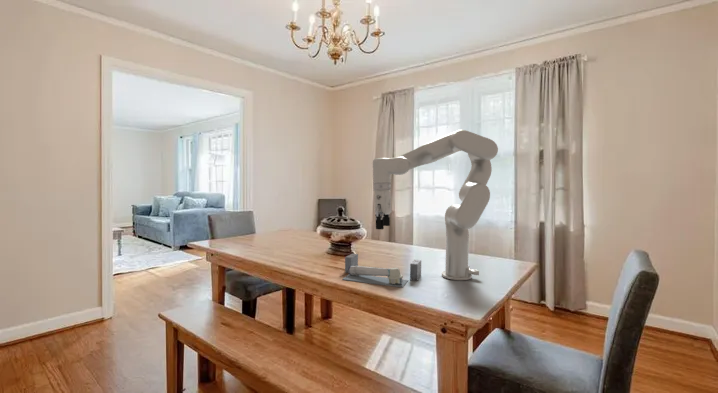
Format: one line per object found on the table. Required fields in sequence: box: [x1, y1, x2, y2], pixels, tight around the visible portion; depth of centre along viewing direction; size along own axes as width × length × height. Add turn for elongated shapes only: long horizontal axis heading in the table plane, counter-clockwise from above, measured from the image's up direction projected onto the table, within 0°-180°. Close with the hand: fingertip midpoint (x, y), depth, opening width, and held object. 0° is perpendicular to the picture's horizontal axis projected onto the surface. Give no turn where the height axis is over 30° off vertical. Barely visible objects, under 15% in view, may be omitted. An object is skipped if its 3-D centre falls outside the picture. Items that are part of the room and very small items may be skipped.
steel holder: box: [344, 253, 422, 282], centre depth 151 cm, size 33×8×7 cm, turn 68°
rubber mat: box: [341, 273, 409, 288], centre depth 142 cm, size 26×9×1 cm, turn 68°
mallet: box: [347, 264, 404, 284], centre depth 142 cm, size 5×7×25 cm
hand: (383, 227), depth 145 cm, fingers open, 9 cm apart
